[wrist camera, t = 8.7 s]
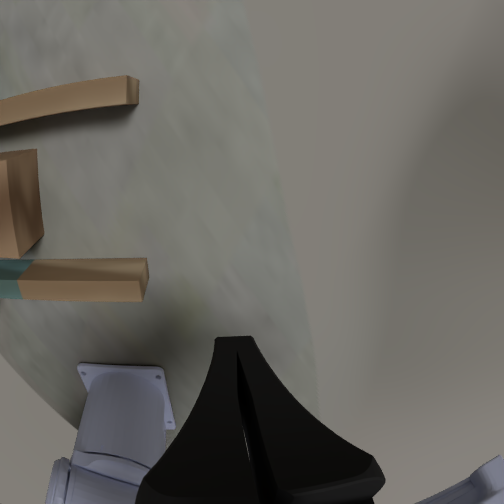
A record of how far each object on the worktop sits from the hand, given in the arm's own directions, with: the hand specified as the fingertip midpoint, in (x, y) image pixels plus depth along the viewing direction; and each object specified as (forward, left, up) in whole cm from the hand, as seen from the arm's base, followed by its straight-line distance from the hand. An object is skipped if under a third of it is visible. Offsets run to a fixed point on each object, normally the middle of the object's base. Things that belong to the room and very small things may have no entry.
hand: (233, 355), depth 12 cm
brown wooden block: (+4, +15, -11) cm, 19 cm away
